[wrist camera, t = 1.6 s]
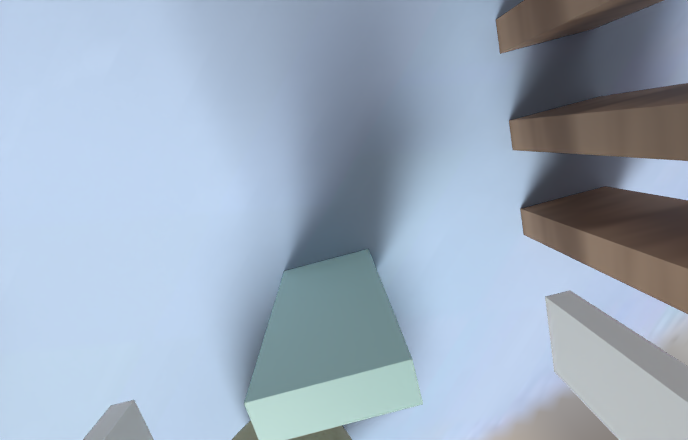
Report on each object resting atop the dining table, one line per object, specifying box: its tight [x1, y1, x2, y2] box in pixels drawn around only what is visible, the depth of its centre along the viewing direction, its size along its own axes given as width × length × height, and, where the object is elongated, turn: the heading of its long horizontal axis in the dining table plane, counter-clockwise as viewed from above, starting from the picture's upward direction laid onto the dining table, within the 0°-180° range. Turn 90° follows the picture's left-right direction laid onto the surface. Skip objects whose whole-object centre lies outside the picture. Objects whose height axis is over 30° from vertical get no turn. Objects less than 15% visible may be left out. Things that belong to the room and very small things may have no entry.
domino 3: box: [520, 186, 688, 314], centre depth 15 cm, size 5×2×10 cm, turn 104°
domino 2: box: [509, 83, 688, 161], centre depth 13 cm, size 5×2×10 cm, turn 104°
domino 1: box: [244, 249, 423, 440], centre depth 15 cm, size 5×2×10 cm, turn 104°
